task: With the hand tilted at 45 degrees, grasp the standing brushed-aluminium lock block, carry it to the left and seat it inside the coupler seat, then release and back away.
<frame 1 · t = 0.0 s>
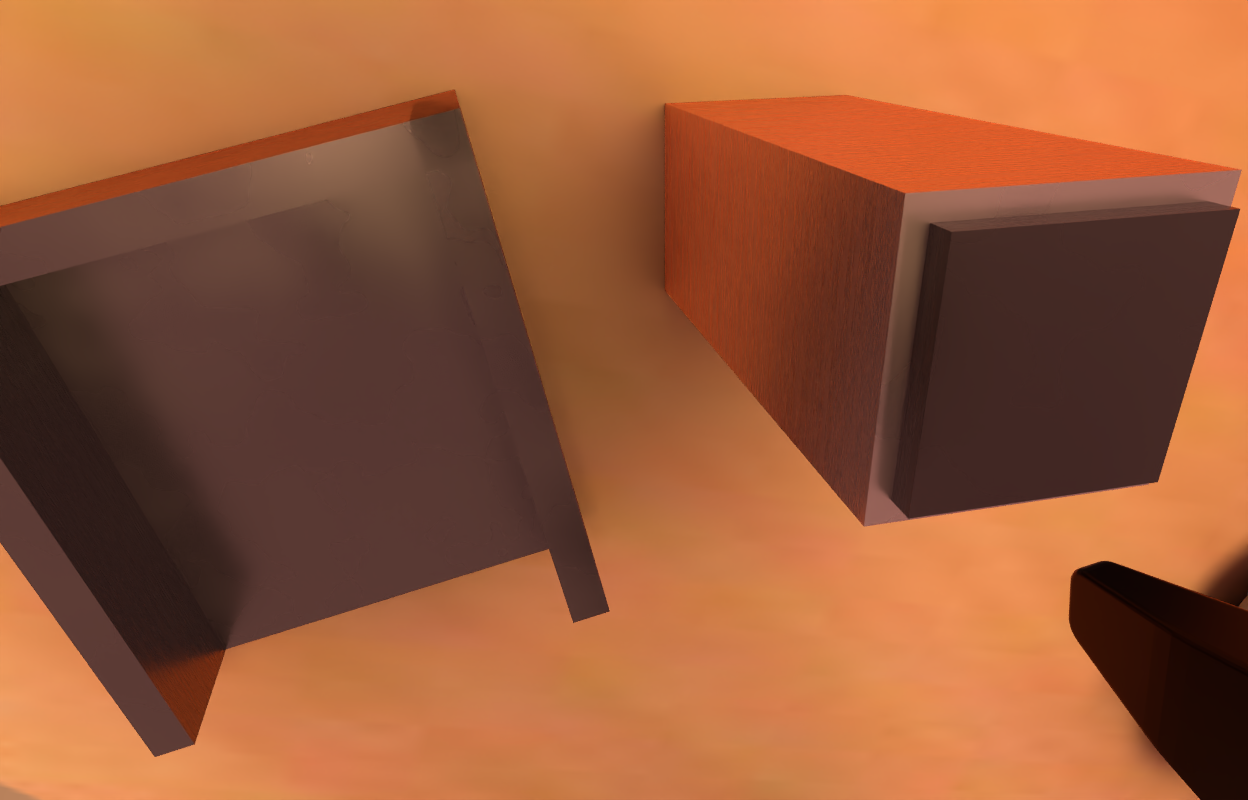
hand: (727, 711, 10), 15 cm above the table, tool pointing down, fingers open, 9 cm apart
lock block: (753, 195, 22), on the table
coupler seat: (313, 393, 22), on the table
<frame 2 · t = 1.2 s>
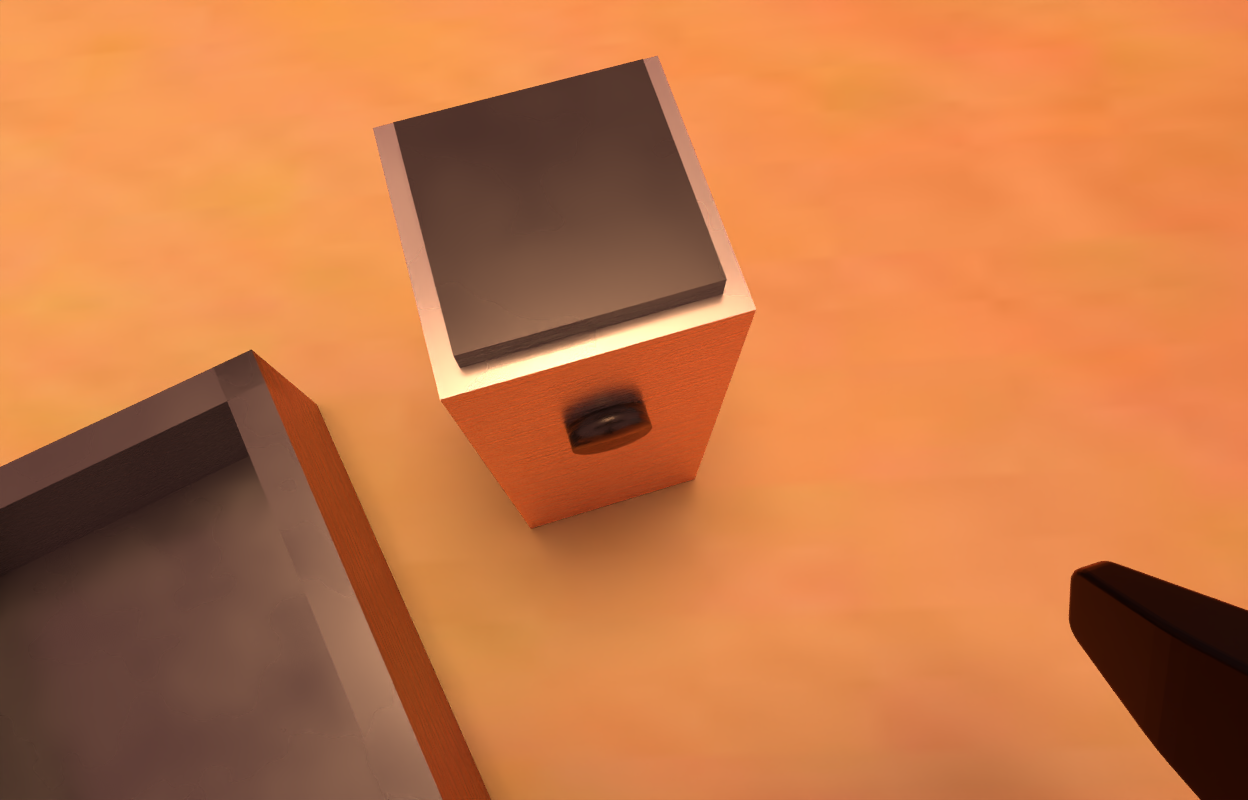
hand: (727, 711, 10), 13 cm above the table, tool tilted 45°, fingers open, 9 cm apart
lock block: (589, 424, 24), on the table
coupler seat: (198, 705, 22), on the table
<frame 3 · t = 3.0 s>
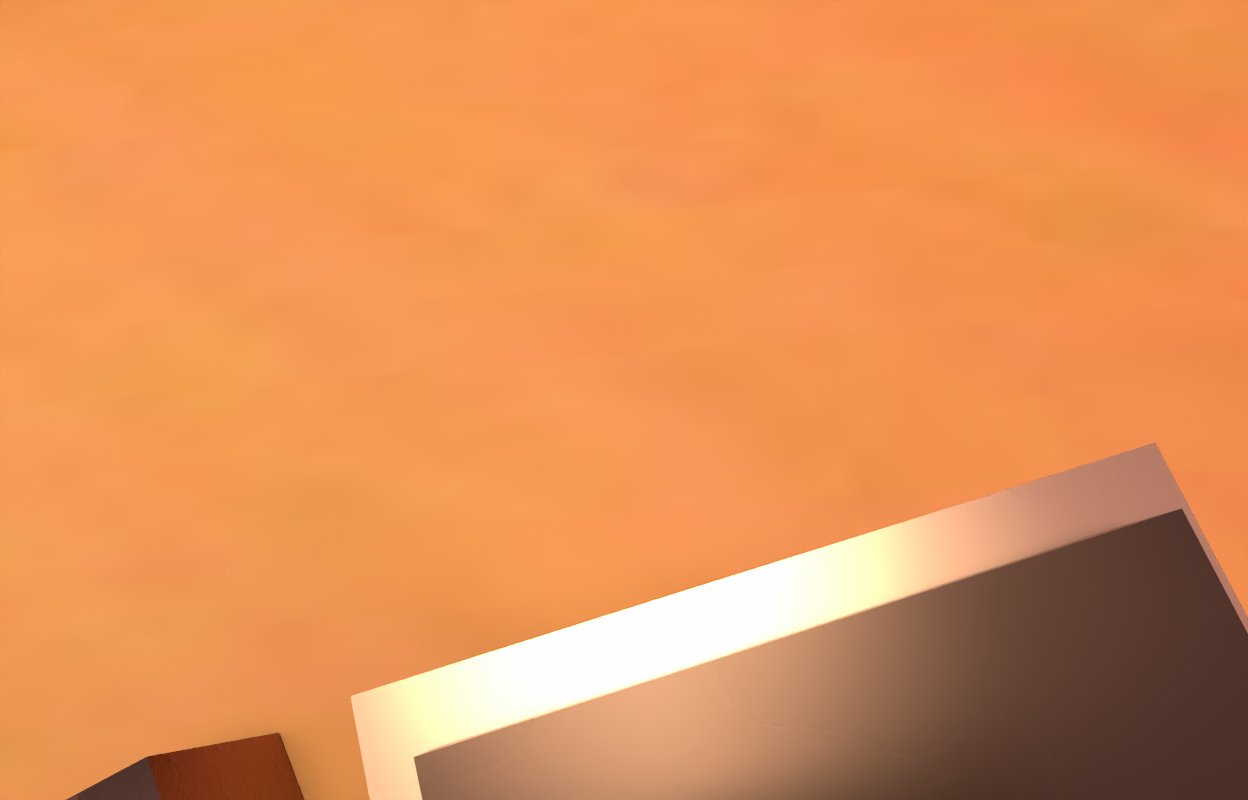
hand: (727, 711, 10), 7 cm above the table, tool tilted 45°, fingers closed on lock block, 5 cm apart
lock block: (711, 769, 15), on the table, touching gripper
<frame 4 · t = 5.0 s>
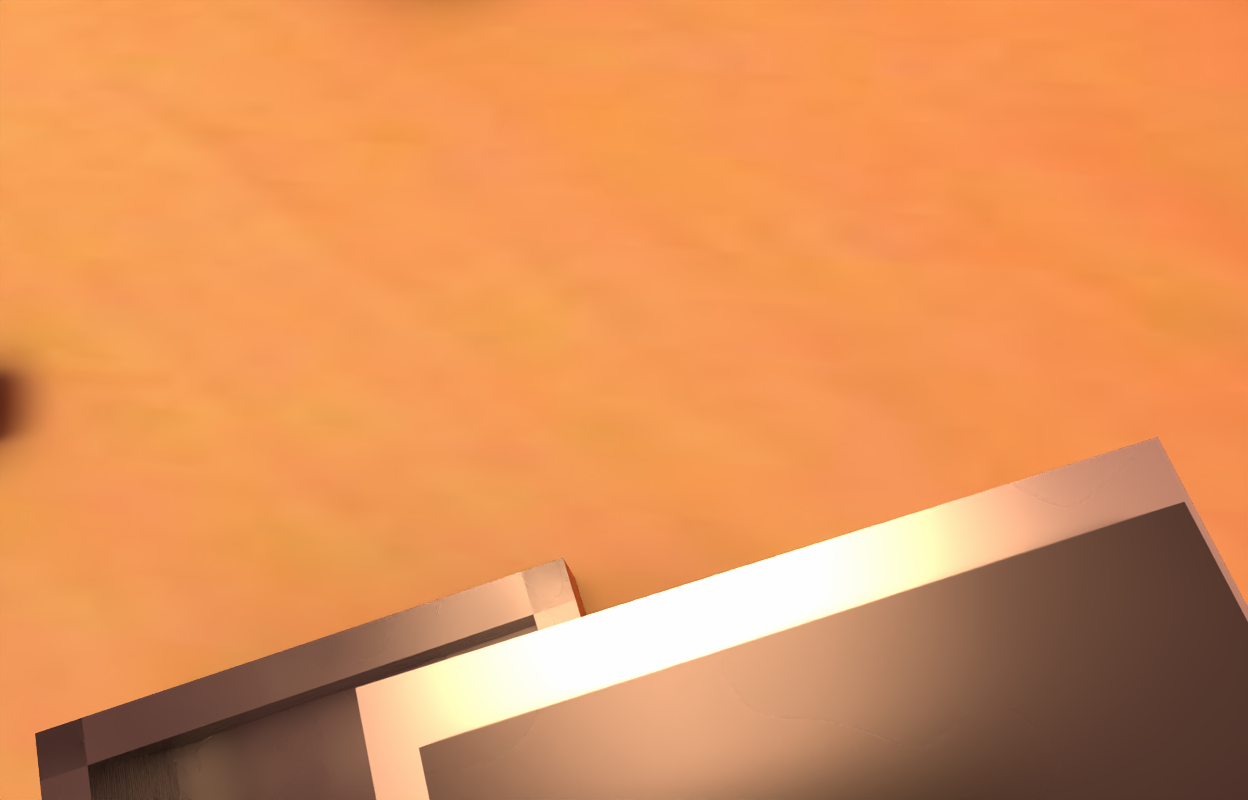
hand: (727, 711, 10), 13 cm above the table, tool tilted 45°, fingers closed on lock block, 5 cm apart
lock block: (712, 766, 15), point 7 cm above the table, touching gripper
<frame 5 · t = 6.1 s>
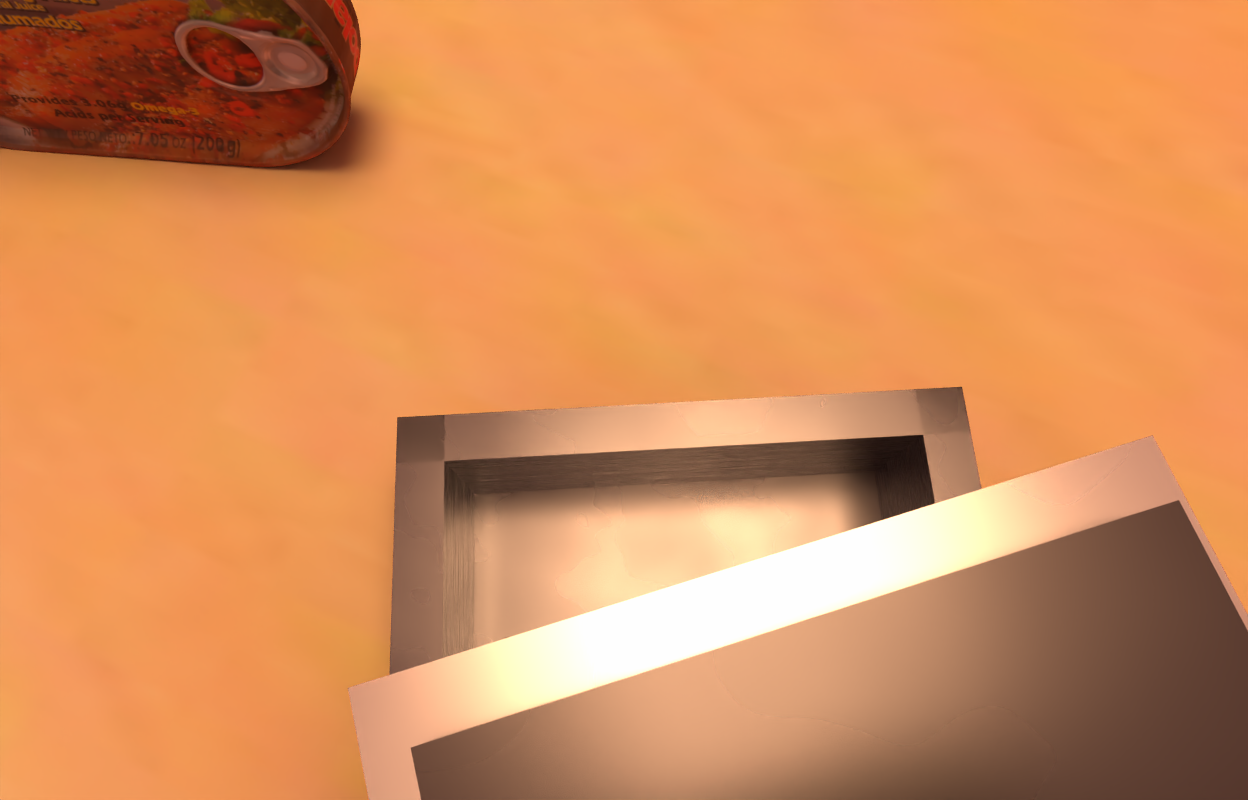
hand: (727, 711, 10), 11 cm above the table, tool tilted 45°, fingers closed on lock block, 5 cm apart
lock block: (710, 766, 15), point 4 cm above the table, touching gripper
tin: (157, 121, 25), on the table
coupler seat: (689, 716, 20), on the table
when the fingers open (9 cm above the table, at t = 6.8 s): lock block drops 1 cm, resting on coupler seat.
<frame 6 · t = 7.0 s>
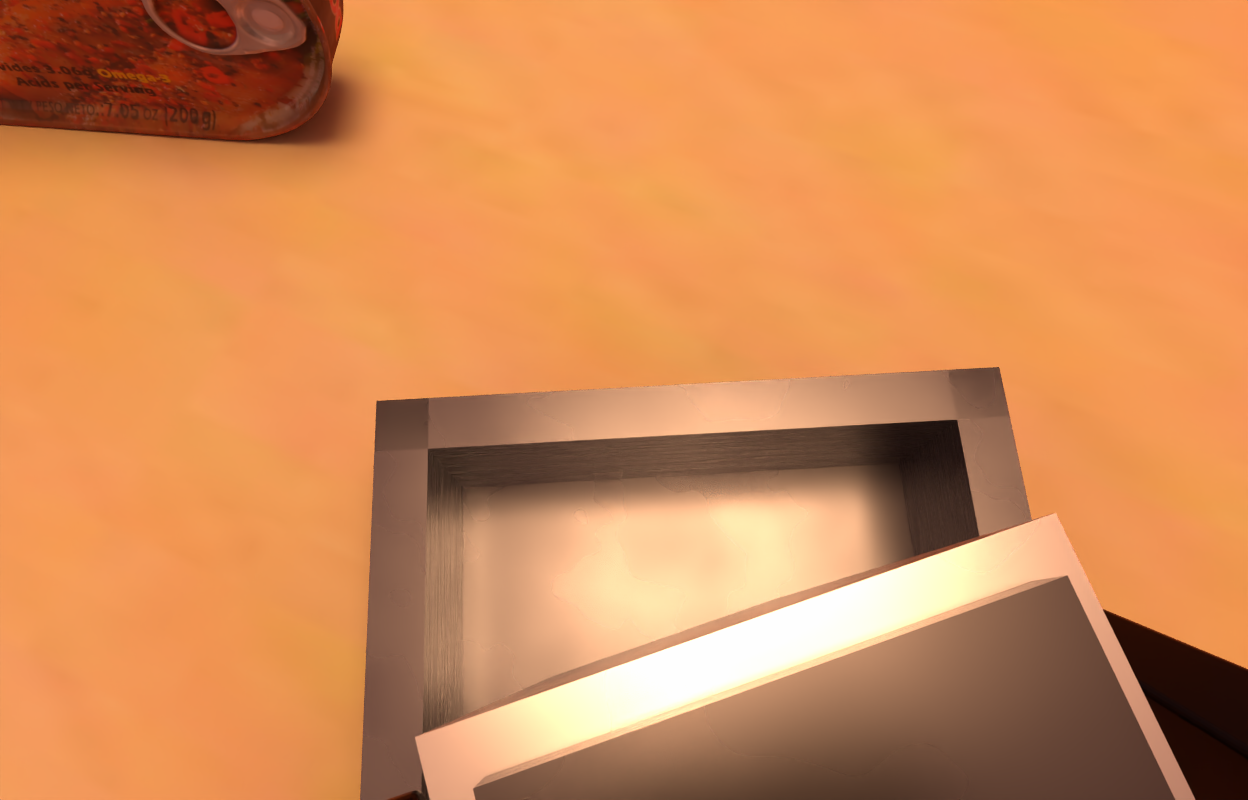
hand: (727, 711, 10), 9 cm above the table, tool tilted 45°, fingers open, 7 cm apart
lock block: (704, 757, 17), point 1 cm above the table, touching coupler seat
tin: (129, 93, 24), on the table
coupler seat: (698, 730, 18), on the table
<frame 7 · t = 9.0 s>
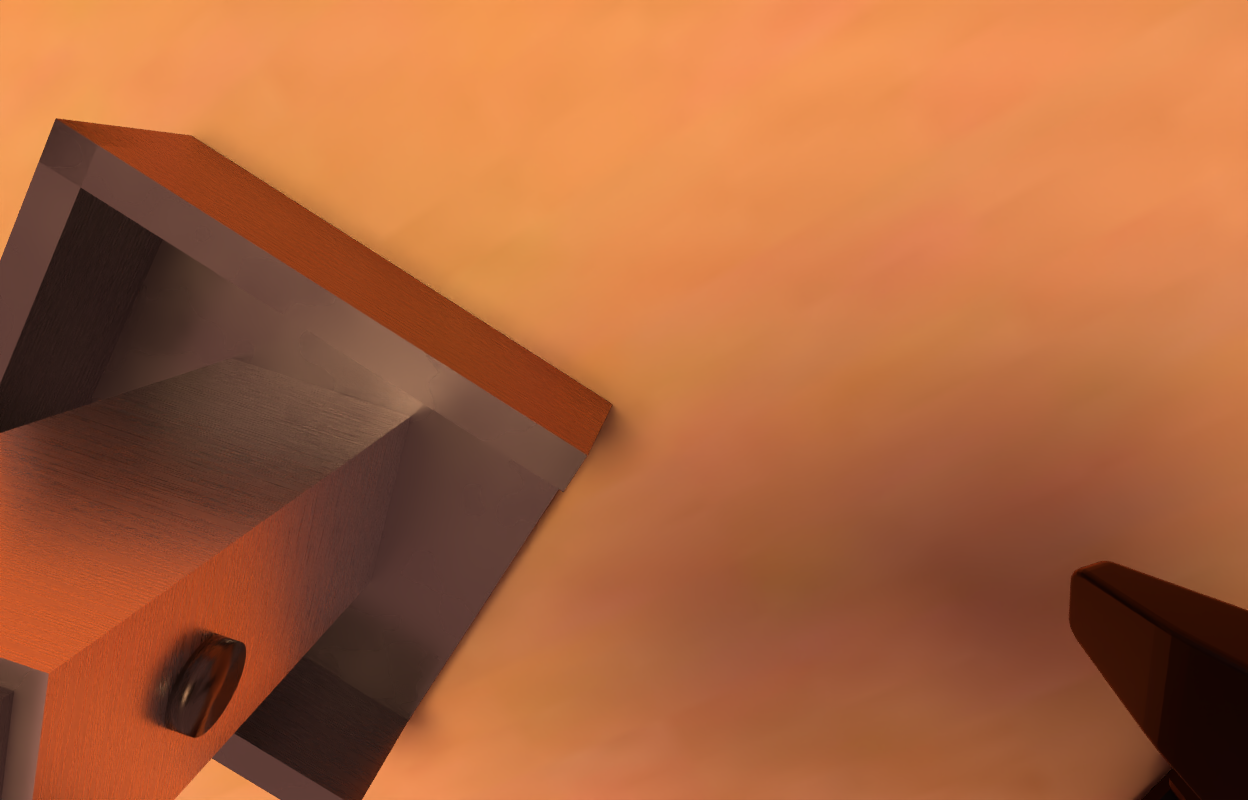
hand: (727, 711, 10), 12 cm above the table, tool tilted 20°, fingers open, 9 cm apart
lock block: (302, 472, 22), point 1 cm above the table, touching coupler seat
coupler seat: (306, 452, 23), on the table
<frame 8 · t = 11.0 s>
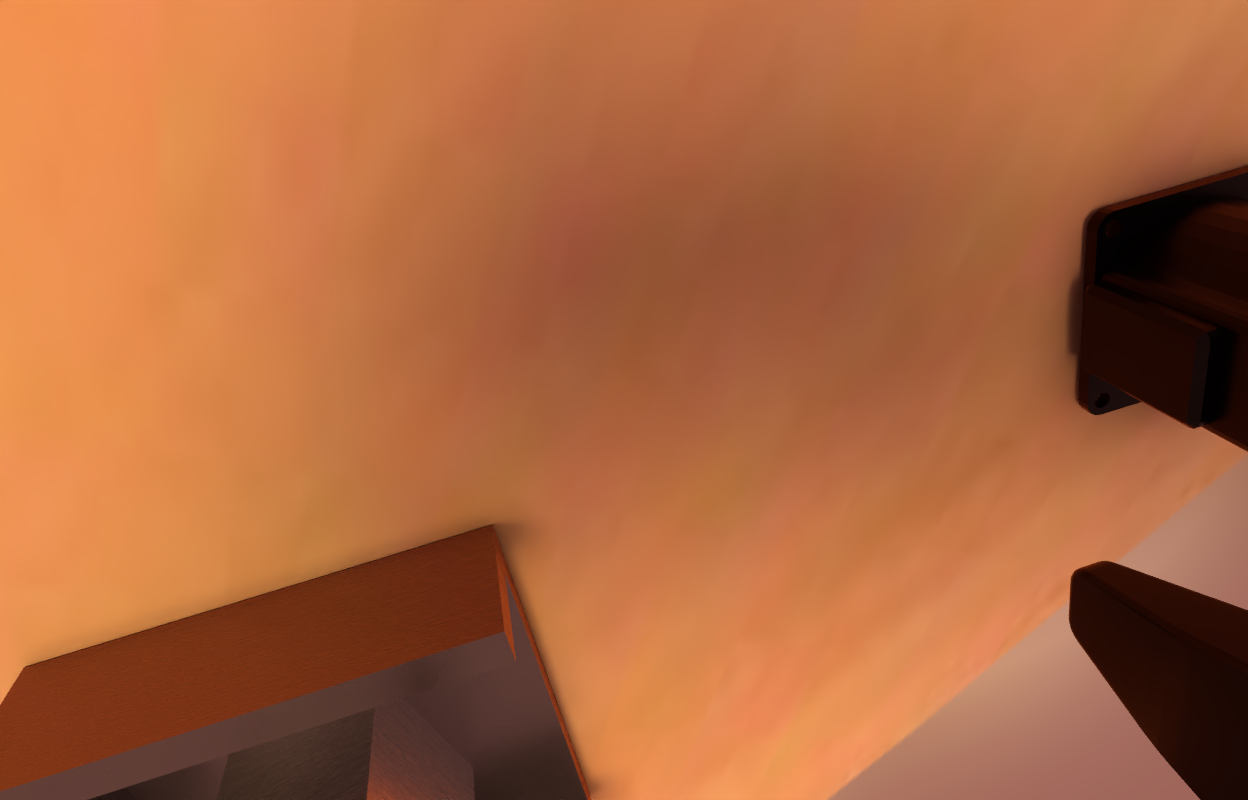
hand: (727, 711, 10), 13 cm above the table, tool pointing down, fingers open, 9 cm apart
lock block: (356, 762, 24), point 1 cm above the table, touching coupler seat
coupler seat: (344, 740, 25), on the table
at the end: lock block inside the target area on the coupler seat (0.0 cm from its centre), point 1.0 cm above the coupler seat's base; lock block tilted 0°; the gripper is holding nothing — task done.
